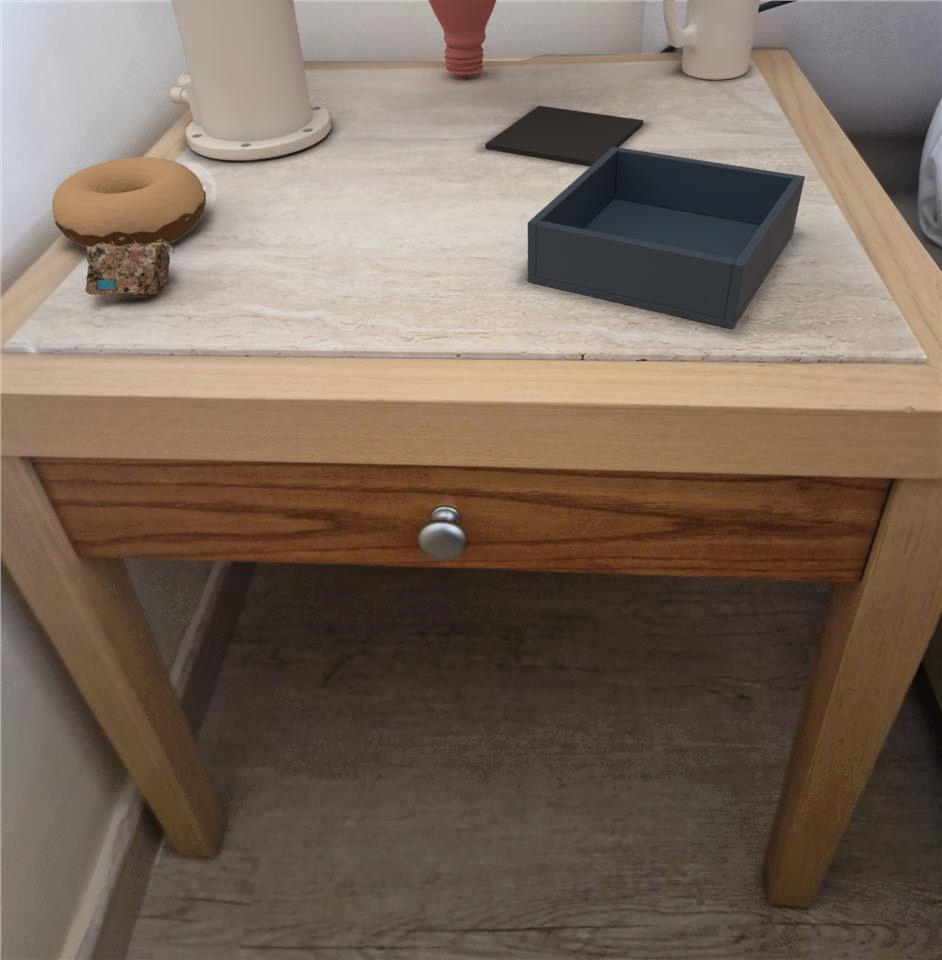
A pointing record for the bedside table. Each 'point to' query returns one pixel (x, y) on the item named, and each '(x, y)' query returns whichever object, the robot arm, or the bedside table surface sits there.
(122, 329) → the bedside table surface
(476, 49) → the light bulb
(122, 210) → the donut
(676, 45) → the mug
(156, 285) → the rock
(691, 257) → the bin
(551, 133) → the mat
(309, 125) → the robot arm
